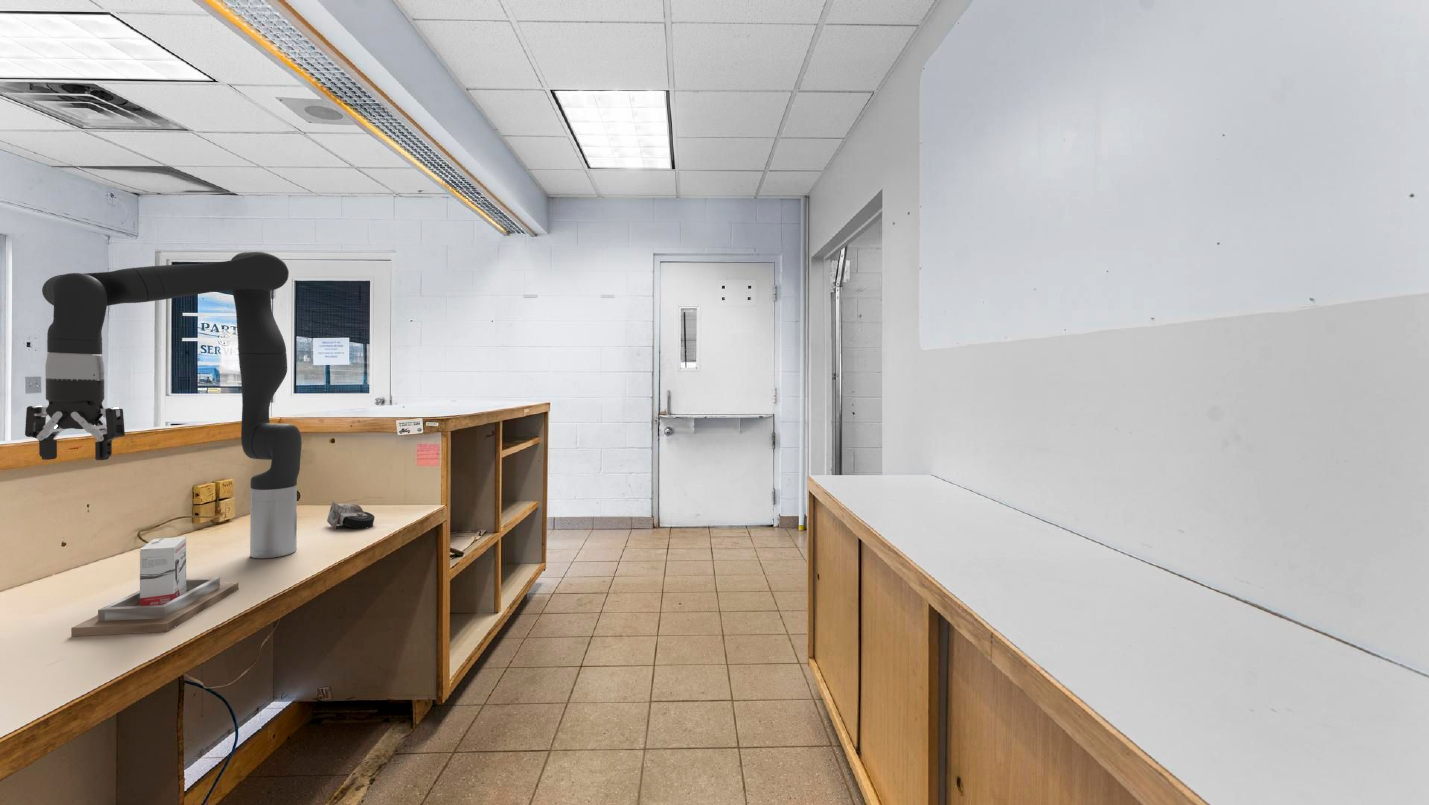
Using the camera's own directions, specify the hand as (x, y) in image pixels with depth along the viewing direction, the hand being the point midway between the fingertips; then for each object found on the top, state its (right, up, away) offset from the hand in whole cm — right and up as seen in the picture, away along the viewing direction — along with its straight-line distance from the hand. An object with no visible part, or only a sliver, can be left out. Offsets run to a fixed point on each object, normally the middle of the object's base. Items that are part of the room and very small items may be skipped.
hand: (76, 459), depth 108 cm
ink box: (+19, -28, -2) cm, 34 cm away
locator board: (+19, -29, -2) cm, 35 cm away
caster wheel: (+15, -27, +60) cm, 67 cm away
